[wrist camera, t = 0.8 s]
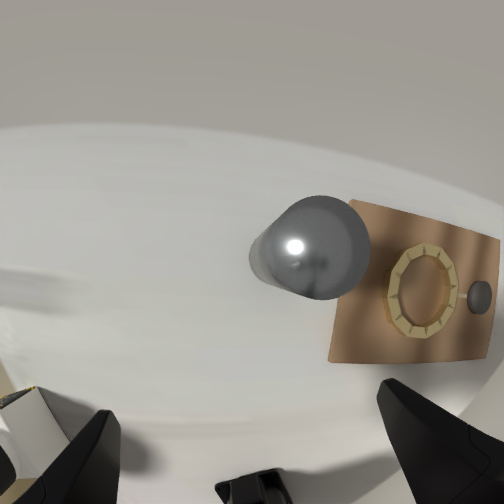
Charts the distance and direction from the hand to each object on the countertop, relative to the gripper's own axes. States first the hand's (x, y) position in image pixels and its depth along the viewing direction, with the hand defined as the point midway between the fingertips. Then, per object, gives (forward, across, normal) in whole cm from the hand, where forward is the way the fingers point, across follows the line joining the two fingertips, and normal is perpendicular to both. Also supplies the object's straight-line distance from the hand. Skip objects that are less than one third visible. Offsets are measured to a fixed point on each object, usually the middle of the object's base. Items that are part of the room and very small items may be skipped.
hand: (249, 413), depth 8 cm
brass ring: (+14, -17, +6) cm, 23 cm away
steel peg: (+16, -4, +2) cm, 17 cm away
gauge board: (+14, -20, +7) cm, 25 cm away
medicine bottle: (+10, +23, +16) cm, 29 cm away
